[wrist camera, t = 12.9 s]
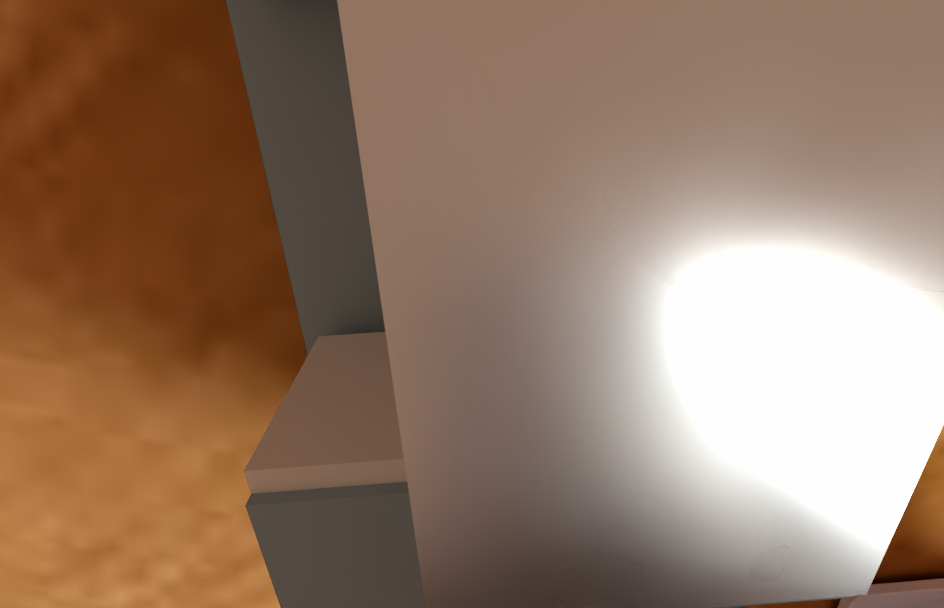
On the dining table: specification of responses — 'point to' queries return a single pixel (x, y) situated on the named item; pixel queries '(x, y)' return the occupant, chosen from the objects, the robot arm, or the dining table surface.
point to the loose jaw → (339, 485)
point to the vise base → (311, 159)
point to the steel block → (655, 289)
